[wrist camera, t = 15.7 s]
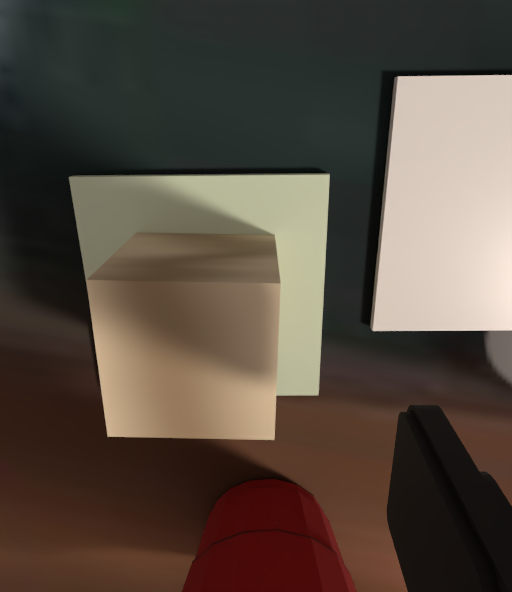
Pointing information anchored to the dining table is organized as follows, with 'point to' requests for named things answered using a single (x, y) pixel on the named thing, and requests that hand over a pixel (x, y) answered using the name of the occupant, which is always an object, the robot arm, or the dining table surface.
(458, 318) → the blush pad
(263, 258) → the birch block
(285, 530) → the plastic cup
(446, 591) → the robot arm
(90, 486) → the dining table surface
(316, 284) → the sage pad
